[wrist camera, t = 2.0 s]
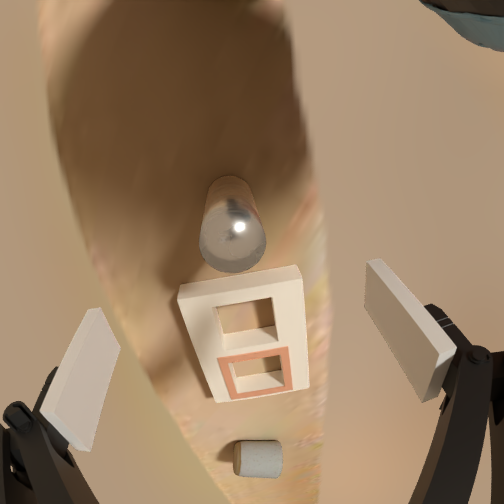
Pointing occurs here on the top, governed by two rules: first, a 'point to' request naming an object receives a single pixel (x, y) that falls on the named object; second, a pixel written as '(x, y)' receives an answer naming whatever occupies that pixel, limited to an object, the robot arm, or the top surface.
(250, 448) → the ceramic mug
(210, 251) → the pin
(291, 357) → the pin board
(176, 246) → the top surface
